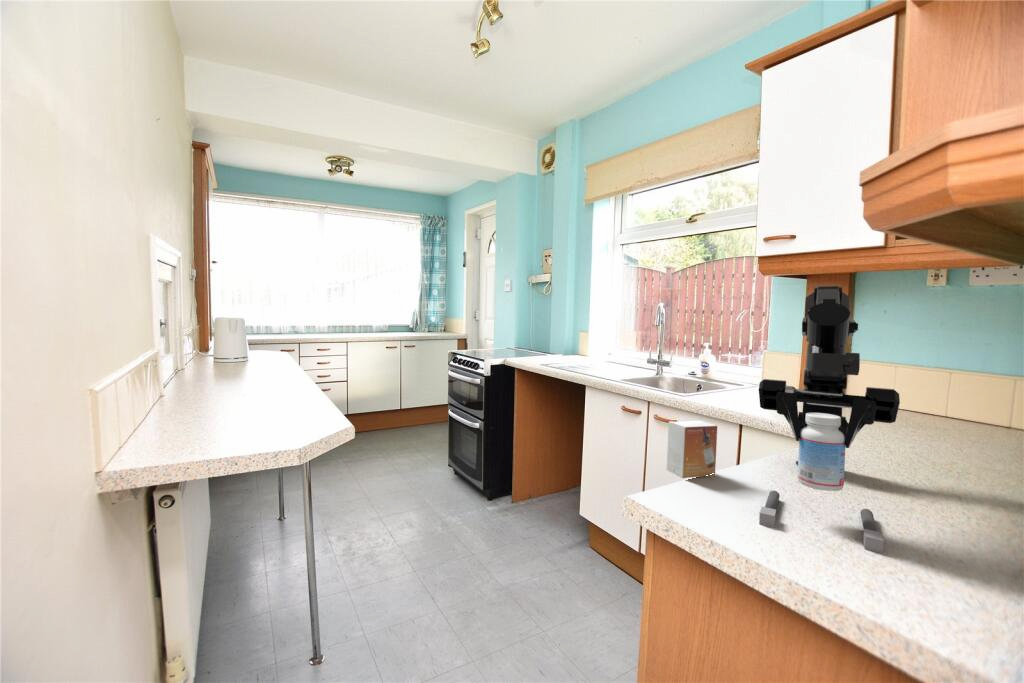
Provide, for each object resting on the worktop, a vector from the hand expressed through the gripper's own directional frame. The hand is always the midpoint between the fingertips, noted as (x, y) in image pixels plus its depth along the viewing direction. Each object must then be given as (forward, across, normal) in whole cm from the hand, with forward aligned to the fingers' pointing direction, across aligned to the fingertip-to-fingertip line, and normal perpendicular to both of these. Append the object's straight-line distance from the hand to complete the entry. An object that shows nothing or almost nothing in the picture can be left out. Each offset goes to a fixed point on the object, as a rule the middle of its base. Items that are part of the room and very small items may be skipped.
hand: (821, 442), depth 71 cm
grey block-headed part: (+9, +7, +9) cm, 14 cm away
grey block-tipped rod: (+9, -6, +9) cm, 14 cm away
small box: (0, -22, +18) cm, 29 cm away
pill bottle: (+4, 0, +6) cm, 7 cm away
